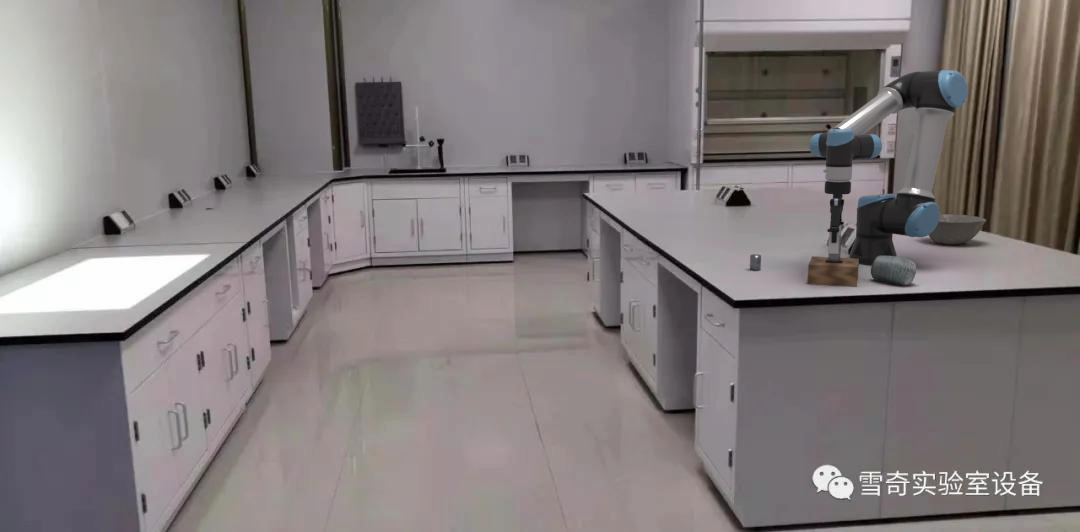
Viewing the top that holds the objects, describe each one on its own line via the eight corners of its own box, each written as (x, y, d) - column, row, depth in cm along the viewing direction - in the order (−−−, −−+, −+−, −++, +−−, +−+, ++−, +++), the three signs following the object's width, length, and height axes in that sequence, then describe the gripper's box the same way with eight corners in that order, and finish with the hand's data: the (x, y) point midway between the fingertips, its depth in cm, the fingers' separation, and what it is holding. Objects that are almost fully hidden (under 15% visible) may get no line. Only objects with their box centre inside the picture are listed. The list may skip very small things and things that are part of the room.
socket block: (857, 277, 257) (858, 258, 255) (856, 286, 244) (857, 267, 243) (811, 274, 262) (812, 256, 261) (807, 283, 249) (808, 264, 248)
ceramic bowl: (995, 248, 301) (998, 221, 299) (932, 249, 301) (934, 222, 299) (965, 238, 323) (967, 213, 321) (907, 239, 323) (908, 214, 321)
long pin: (839, 279, 254) (841, 235, 251) (838, 282, 251) (841, 237, 248) (827, 279, 255) (829, 234, 253) (826, 281, 252) (828, 236, 249)
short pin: (761, 269, 272) (761, 254, 271) (759, 271, 269) (760, 256, 268) (750, 268, 274) (751, 254, 273) (749, 270, 270) (749, 255, 270)
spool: (858, 270, 252) (877, 242, 250) (876, 280, 257) (894, 253, 255) (891, 288, 240) (911, 260, 238) (909, 299, 245) (928, 271, 243)
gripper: (827, 176, 260) (824, 242, 264) (822, 184, 237) (819, 256, 241) (852, 177, 257) (849, 243, 261) (849, 184, 234) (846, 257, 238)
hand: (834, 249), depth 251 cm, fingers open, 13 cm apart
